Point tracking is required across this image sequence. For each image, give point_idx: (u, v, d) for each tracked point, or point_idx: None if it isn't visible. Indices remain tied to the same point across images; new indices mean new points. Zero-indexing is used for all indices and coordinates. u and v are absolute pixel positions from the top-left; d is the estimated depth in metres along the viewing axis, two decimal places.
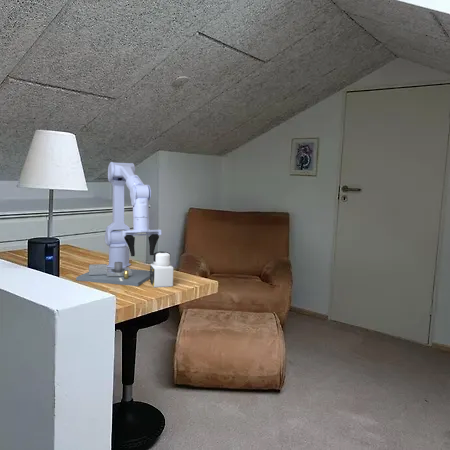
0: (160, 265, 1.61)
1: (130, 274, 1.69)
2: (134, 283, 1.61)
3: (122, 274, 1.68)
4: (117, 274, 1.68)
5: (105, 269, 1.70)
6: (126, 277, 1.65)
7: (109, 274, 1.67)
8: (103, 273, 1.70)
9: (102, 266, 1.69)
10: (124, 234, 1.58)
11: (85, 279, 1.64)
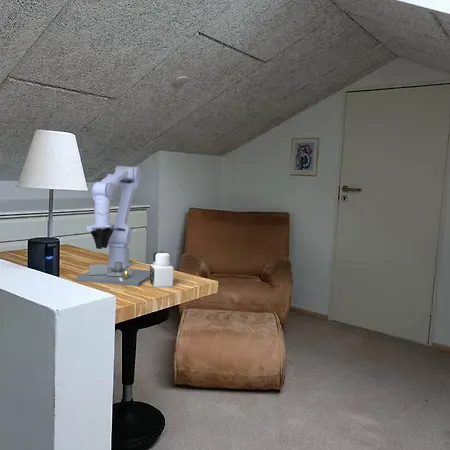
0: (160, 265, 1.61)
1: (130, 274, 1.69)
2: (134, 283, 1.61)
3: (122, 274, 1.68)
4: (117, 274, 1.68)
5: (105, 269, 1.70)
6: (126, 277, 1.65)
7: (109, 274, 1.67)
8: (103, 273, 1.70)
9: (102, 266, 1.69)
10: (91, 229, 1.68)
11: (85, 279, 1.64)
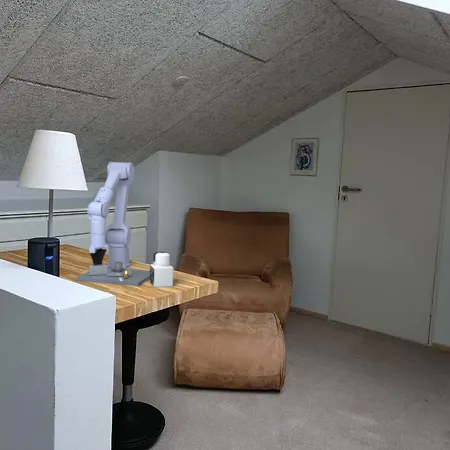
0: (160, 265, 1.61)
1: (130, 274, 1.69)
2: (134, 283, 1.61)
3: (122, 274, 1.68)
4: (117, 274, 1.68)
5: (105, 269, 1.70)
6: (126, 277, 1.65)
7: (109, 274, 1.67)
8: (103, 273, 1.70)
9: (102, 266, 1.69)
10: (95, 251, 1.65)
11: (85, 279, 1.64)
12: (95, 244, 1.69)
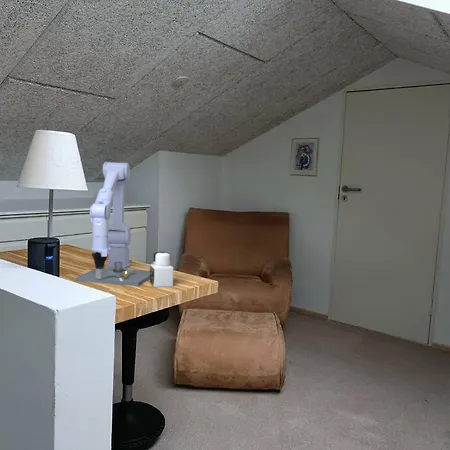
0: (160, 265, 1.61)
1: (134, 271, 1.74)
2: (134, 283, 1.61)
3: (129, 273, 1.71)
4: None
5: (111, 271, 1.67)
6: (126, 277, 1.65)
7: (121, 274, 1.67)
8: (110, 275, 1.67)
9: (109, 268, 1.66)
10: None
11: (85, 279, 1.64)
12: (101, 247, 1.63)
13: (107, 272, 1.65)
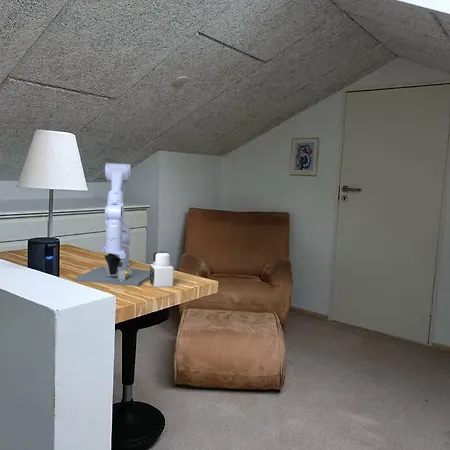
0: (160, 265, 1.61)
1: None
2: (134, 283, 1.61)
3: None
4: None
5: None
6: (126, 277, 1.65)
7: (131, 273, 1.71)
8: None
9: (123, 268, 1.67)
10: None
11: (85, 279, 1.64)
12: (117, 249, 1.61)
13: None
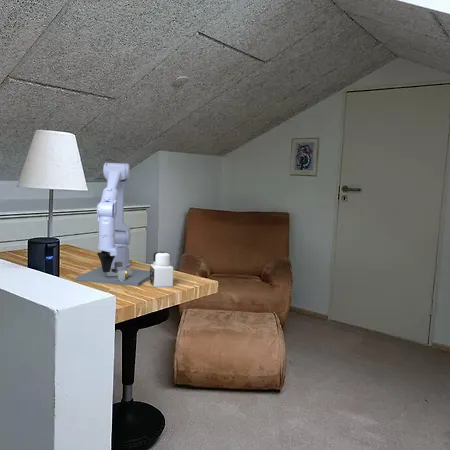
0: (160, 265, 1.61)
1: None
2: (134, 283, 1.61)
3: None
4: None
5: None
6: (126, 277, 1.65)
7: (131, 273, 1.71)
8: None
9: (123, 268, 1.67)
10: None
11: (85, 279, 1.64)
12: (109, 246, 1.61)
13: None
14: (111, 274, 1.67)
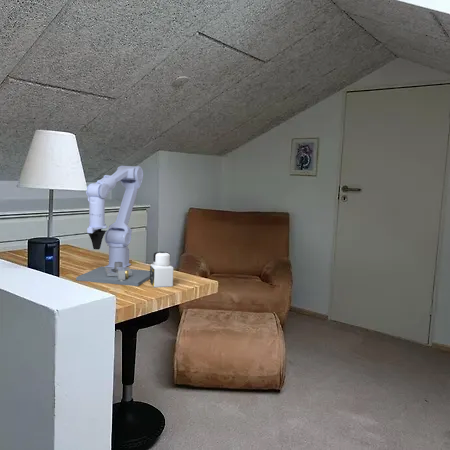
0: (160, 265, 1.61)
1: None
2: (134, 283, 1.61)
3: None
4: None
5: None
6: (126, 277, 1.65)
7: (131, 273, 1.71)
8: None
9: (123, 268, 1.67)
10: (93, 231, 1.68)
11: (85, 279, 1.64)
12: (94, 225, 1.71)
13: None
14: (111, 274, 1.67)
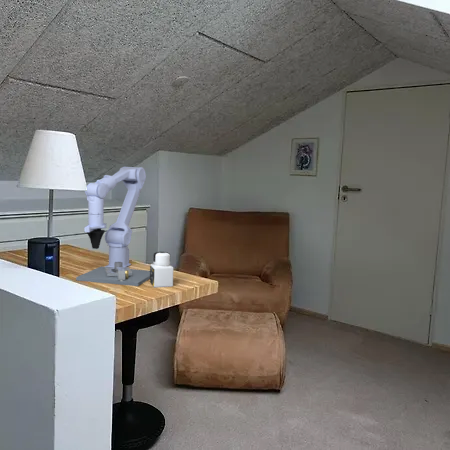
0: (160, 265, 1.61)
1: None
2: (134, 283, 1.61)
3: None
4: None
5: None
6: (126, 277, 1.65)
7: (131, 273, 1.71)
8: None
9: (123, 268, 1.67)
10: (89, 230, 1.69)
11: (85, 279, 1.64)
12: (92, 224, 1.73)
13: None
14: (111, 274, 1.67)
